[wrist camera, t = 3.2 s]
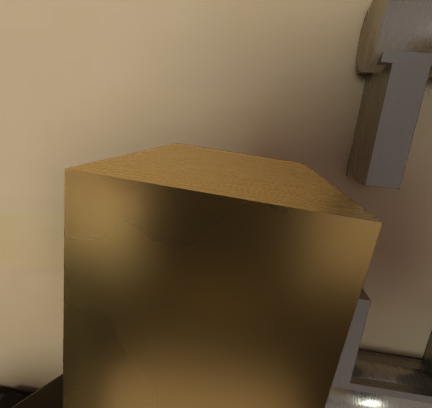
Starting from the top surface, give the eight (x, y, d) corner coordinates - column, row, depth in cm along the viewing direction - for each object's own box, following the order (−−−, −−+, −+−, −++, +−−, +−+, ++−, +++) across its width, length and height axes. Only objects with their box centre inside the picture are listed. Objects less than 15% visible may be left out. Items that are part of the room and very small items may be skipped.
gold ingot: (235, 465, 11) (221, 738, 6) (144, 442, 11) (59, 688, 6) (303, 163, 8) (382, 222, 3) (176, 143, 8) (64, 168, 3)
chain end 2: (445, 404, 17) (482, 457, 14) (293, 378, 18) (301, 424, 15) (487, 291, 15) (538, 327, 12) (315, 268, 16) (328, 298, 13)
